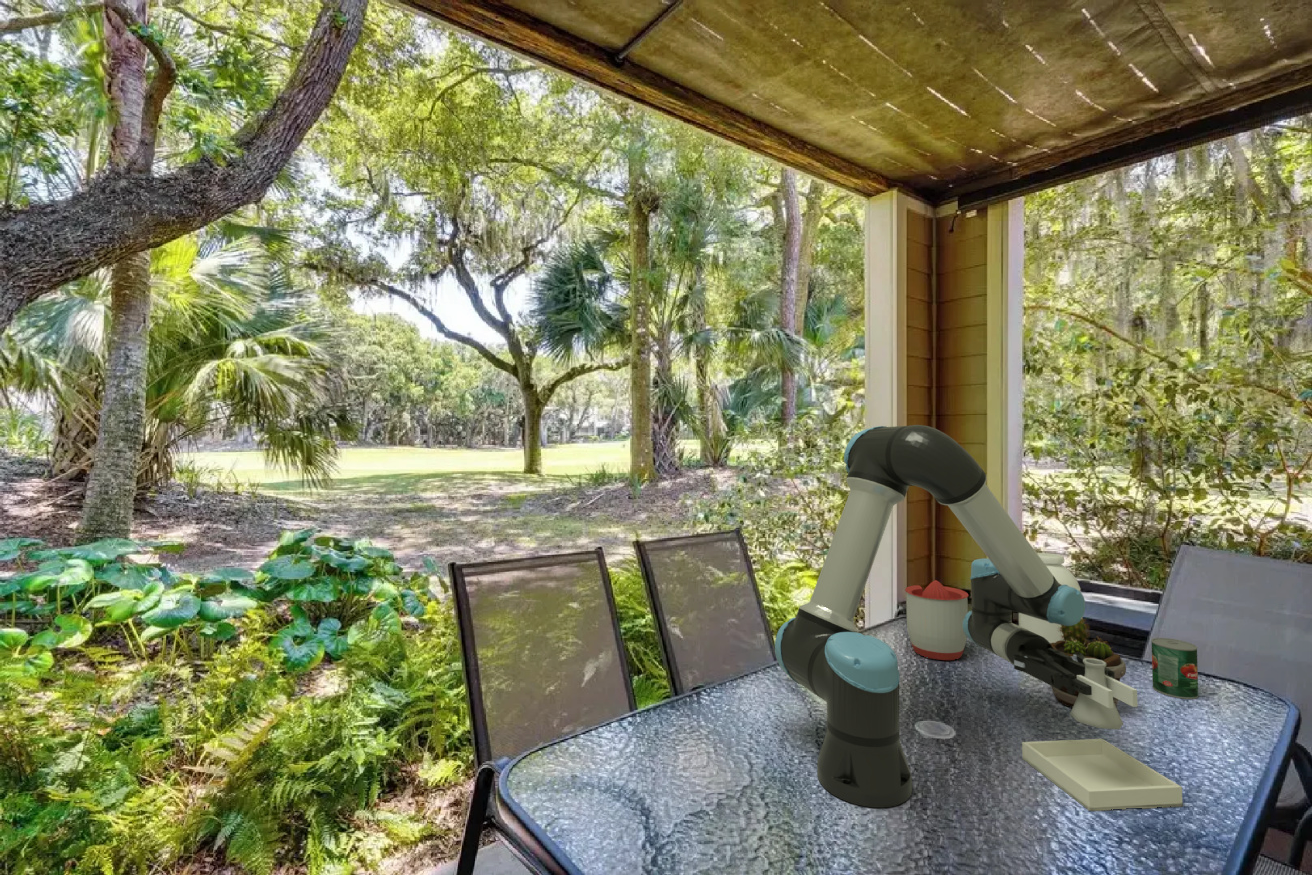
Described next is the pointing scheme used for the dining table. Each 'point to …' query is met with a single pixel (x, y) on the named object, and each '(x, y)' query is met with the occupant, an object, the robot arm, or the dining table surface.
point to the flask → (1089, 708)
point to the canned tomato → (1175, 668)
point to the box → (1101, 775)
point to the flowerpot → (1097, 650)
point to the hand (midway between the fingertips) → (1122, 698)
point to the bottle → (1062, 577)
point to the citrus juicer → (936, 620)
